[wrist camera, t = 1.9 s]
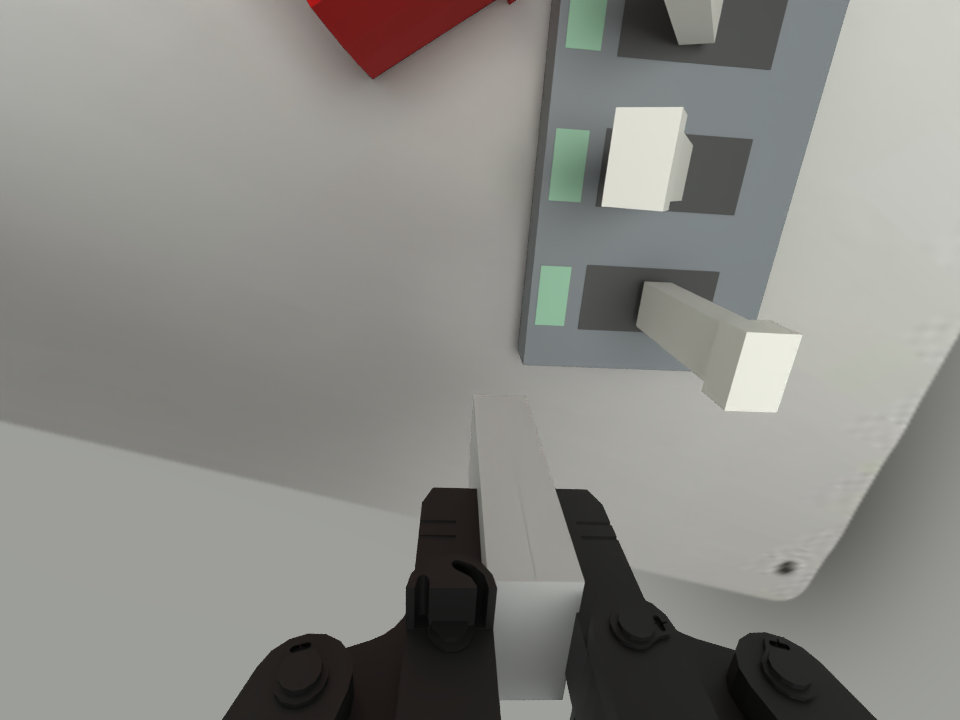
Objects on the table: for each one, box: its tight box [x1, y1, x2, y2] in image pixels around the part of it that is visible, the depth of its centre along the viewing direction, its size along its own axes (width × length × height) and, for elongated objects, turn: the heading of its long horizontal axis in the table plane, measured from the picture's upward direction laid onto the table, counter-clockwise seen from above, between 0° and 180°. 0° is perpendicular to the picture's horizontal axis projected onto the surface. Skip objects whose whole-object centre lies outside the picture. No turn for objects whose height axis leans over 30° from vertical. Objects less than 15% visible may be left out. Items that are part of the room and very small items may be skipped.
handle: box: [601, 107, 693, 211], centre depth 23 cm, size 2×4×12 cm
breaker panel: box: [518, 0, 849, 371], centre depth 30 cm, size 16×26×3 cm, turn 176°
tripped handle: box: [636, 281, 802, 412], centre depth 25 cm, size 2×4×12 cm, turn 177°
